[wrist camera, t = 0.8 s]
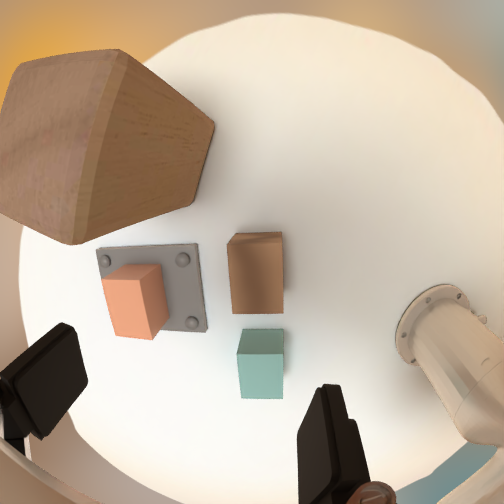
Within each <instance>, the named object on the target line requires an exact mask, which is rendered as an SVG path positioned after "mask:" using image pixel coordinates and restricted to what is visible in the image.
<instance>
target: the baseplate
mask: <svg viewBox="0 0 504 504" xmlns="http://www.w3.org/2000/svg"><path fill="white" fill-rule="evenodd" d="M96 254H97V260H98V265H99V270H100V275H101V281H102V285H103V290H104V294H105V298H106V302H107V306H108V310H109V314H110V318H111V321H112V325H113V328H114V332H115V335H116V336H122V337H130V338H138V339H147V340H153V339H154V337H155V336H156V335H157V333H158V332H159V331H160V330H168V331H184V332H204V333H206V331H207V322H206V315H205V307H204V300H203V292H202V284H201V275H200V266H199V257H198V248H197V244H179V245H154V246H131V247H109V248H99V249H96Z"/></svg>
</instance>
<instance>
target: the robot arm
mask: <svg viewBox="0 0 504 504" xmlns="http://www.w3.org/2000/svg"><path fill="white" fill-rule="evenodd" d="M486 321H487V318H486V316H485V315H481V316H478V317H477V316H476V315H474V314H473V313H472V312H471V311H470V307H469V301H468V299H467V297H466V295H465V294H464V293H463V292H462V291H461V290H460V289H458V288H457V287H454V286H452V285H439V286H436V287H433V288H431V289H429V290H427V291H425V292H424V293H423V294H421V295H420V296H419V297H418V298H417V299H416V300H415V301H414V302H413V303H412V304H411V305H410V306H409V308H408V309H407V310H406V312H405V313H404V315H403V317H402V318H401V321H400V323H399V326H398V329H397V333H396V347H397V350H398V353H399V354H400V356H401V358H402V359H403V360H404V361H405V362H406V363H408V364H410V365H414V366H420V367H421V368H422V370H423V371H424V373H425V375H426V376H427V378H428V379H429V381H430V383H431V384H432V386H433V388H434V389H435V391H436V392H437V394H438V396H439V398H440V399H441V401H442V403H443V404H444V406H445V408H446V410H447V411H448V413H449V415H450V417H451V418H452V420H453V422H454V424H455V425H456V427H457V429H458V431H459V433H460V434H461V435H462V437H463V438H464V439H466V440H467V441H469V442H471V443H474V444H480V445H494V446H496V447H497V452H496V454H495V455H494V456H493V457H492V458H491V459H490V460H489V461H488V462H487V463H486V464H485V465H484V466H483V467H482V468H481V469H480V470H478V471H477V472H476V473H475V474H473V475H472V476H471V477H470V478H468V479H467V480H466V481H464V482H463V483H462V484H461V485H459V486H458V487H457V488H455V489H454V490H453V491H452V492H450V493H449V494H447V495H446V496H445V497H443V498H442V499H441V500H440V501H439V502H438V503H437V504H504V343H503V342H502V341H501V340H500V339H499V338H498V337H497V336H496V335H495V334H494V333H492V332H491V331H490V330H489V329H488V328H487V327H486V326H485V325H484V324H485V323H486ZM0 377H1V379H0V504H103V503H100V502H98V501H96V500H94V499H92V498H90V497H88V496H86V495H84V494H83V493H80V492H79V491H77V490H75V489H74V488H72V487H70V486H68V485H67V484H65V483H63V482H61V481H60V480H58V479H57V478H55V477H54V476H52V475H51V474H49V473H48V472H46V471H45V470H43V469H42V468H40V467H39V466H37V465H36V464H35V463H33V462H32V461H31V454H30V446H29V437H28V435H29V434H30V432H31V433H32V434H33V435H34V436H36V437H37V438H38V439H40V440H42V439H43V438H44V437H46V436H48V435H49V434H50V433H51V431H52V430H53V429H54V427H55V426H56V425H57V423H58V422H59V421H60V420H61V418H62V417H63V416H64V414H65V413H66V412H67V410H68V409H69V408H70V407H71V405H72V404H73V403H74V402H75V400H76V399H77V398H78V397H79V395H80V394H81V393H82V392H83V390H84V389H85V388H86V386H87V384H88V378H87V374H86V370H85V367H84V363H83V358H82V354H81V350H80V345H79V341H78V336H77V333H76V332H75V329H74V327H72V326H70V325H67V324H65V323H63V322H61V323H59V324H58V325H56V326H55V327H54V328H52V329H51V330H50V331H49V332H47V333H46V334H45V335H44V336H43V337H41V338H40V339H39V340H38V341H36V342H35V343H34V344H33V345H32V346H30V347H29V348H28V349H27V350H26V351H24V352H23V353H22V354H21V355H20V356H18V357H17V358H16V359H15V360H14V361H13V362H12V363H10V364H9V365H8V366H7V367H6V368H5V369H4V370H2V371H1V372H0ZM297 457H298V496H299V504H397V503H396V494H395V492H394V490H393V489H392V488H391V487H390V486H389V485H387V484H386V483H383V482H379V481H372V482H371V480H370V476H369V471H368V467H367V462H366V458H365V454H364V450H363V446H362V442H361V438H360V434H359V430H358V426H357V423H356V421H355V420H354V419H349V418H348V414H347V410H346V406H345V402H344V398H343V394H342V390H341V387H340V385H334V384H323V386H322V388H320V387H318V388H317V389H316V391H315V394H314V396H313V399H312V401H311V403H310V406H309V408H308V410H307V413H306V415H305V417H304V419H303V421H302V424H301V426H300V428H299V430H298V433H297Z"/></svg>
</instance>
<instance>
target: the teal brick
mask: <svg viewBox="0 0 504 504" xmlns="http://www.w3.org/2000/svg"><path fill="white" fill-rule="evenodd" d="M237 363H238V372H239V381H240V390H241V398H246V399H283V329H243V330H242V334H241V338H240V342H239V346H238V350H237Z"/></svg>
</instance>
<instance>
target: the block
mask: <svg viewBox="0 0 504 504" xmlns="http://www.w3.org/2000/svg"><path fill="white" fill-rule="evenodd" d="M213 131H214V122H213V121H212V120H211V119H210V118H209V117H208V116H206V115H205V114H204V113H203V112H202V111H201V110H199V109H198V108H197V107H196V106H195V105H193V104H192V103H191V102H190V101H189V100H187V99H186V98H185V97H184V96H182V95H181V94H180V93H179V92H177V91H176V90H175V89H174V88H172V87H171V86H170V85H169V84H167V83H166V82H165V81H164V80H162V79H161V78H160V77H158V76H157V75H156V74H154V73H153V72H152V71H151V70H149V69H148V68H147V67H145V66H144V65H142V64H141V63H140V62H138V61H137V60H136V59H134V58H133V57H131V56H130V55H128V54H127V53H125V52H123V51H121V50H120V49H106V50H94V51H84V52H76V53H68V54H62V55H56V56H51V57H46V58H41V59H36V60H32V61H28V62H24V63H21V64H20V65H19V66H18V67H17V68H16V70H15V72H14V73H13V75H12V78H11V80H10V83H9V86H8V89H7V92H6V96H5V99H4V102H3V106H2V109H1V113H0V213H2V214H3V215H5V216H7V217H9V218H11V219H13V220H15V221H17V222H19V223H21V224H23V225H25V226H27V227H29V228H31V229H33V230H35V231H37V232H39V233H41V234H43V235H46V236H48V237H50V238H52V239H54V240H56V241H58V242H61V243H63V244H67V245H78V244H82V243H85V242H87V241H90V240H93V239H95V238H98V237H100V236H103V235H106V234H108V233H111V232H114V231H116V230H119V229H122V228H124V227H127V226H130V225H133V224H136V223H138V222H141V221H144V220H147V219H150V218H153V217H156V216H159V215H162V214H165V213H168V212H171V211H174V210H177V209H180V208H183V207H186V206H189V205H190V204H191V203H192V201H193V200H194V196H195V193H196V189H197V185H198V182H199V178H200V175H201V171H202V168H203V164H204V161H205V157H206V154H207V151H208V147H209V144H210V141H211V138H212V134H213Z"/></svg>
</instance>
